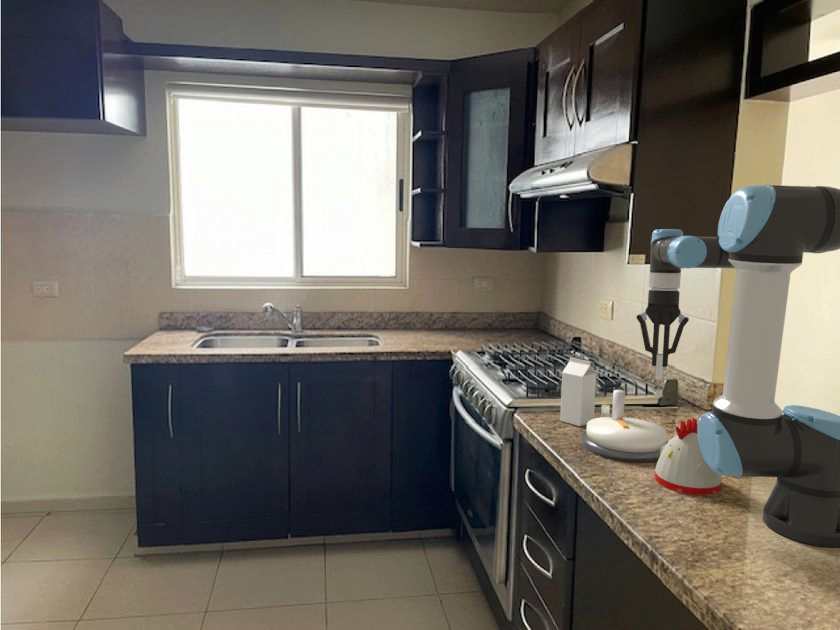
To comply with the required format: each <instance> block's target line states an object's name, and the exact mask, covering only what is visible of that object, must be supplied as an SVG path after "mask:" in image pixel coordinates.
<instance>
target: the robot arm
mask: <svg viewBox="0 0 840 630" xmlns="http://www.w3.org/2000/svg"><path fill="white" fill-rule="evenodd" d="M651 234H652V235H651V241H650V258H649V260H650V261H649V263H650V264H649V277H648V279H649V280H648V287H649V288H651V289H649V290H648V292H647V293H648V294H647V296H648V297H647V306H646V308H645V311H644V312H642V313H639V314H637V315H636V320H637V321H638V323H639V325H640V330H641V335H642V338H643V339H642V340H643V346H644V349H645V351H646V352H648V353H651V366H652V367H655V376H654V377H655V380H657V381H661V380H663V372H664V371H663V370H664V368H667V366H668V364H669V355H671V354H675V353H676V351H677V348H678V346H679V344H680V343H679V342H680V339H681V337H682V334H683V330H684V327H685V326H686V325H687V323H688V322H689V320H690V318H689V316H685V315H684V314H682V313H681V309H680V295H681V294H680V293H681V292H680V291H679V290H678V289H680V288H681V277H682V269H735V270H736V272H735V280H734V289H733V298H732V299H733V300H732V307H731V308H732V309H731V317H730V326H729V327H730V328H729V336H728V337H729V338H728V343H727V345H728V346H727V353H726V361H725V362H726V363H725V372H724V381H723V391H722V394H720V395H719V396H718V397H716V398H714V400H713V401H712V408H711V409H712V411H711V412H710V411H709V412H708V411H707V412H705V413H703V414H701V416H700V418H699V419H698V420H697V421H698V422H697V423H698V427H697V433H698V441H699V446H700V450H701V452H702V455H703V458H704V460H705V462H706V463H707V465H708V466H709V468H710V469H711V470H712V471H714V472H715V473H717V474H719V475H721V476H729V477H735V478H742V477H745V478H746V477H751V478H754V477H755V478H757V477H758V478H759V477H760V478H776V482H775V485H774V486H773V489H772V490H771V492H770V494H769V496H768V498H767V500H766V502H765V504H764V506H763V510H762V520H763V523H764V524H765V525H766V526H767V527H768V528H769V529H770V530H772V531H774V532H776V533H778V534H779V535H781V536H784V537H786V538H789V539H791V540H794V541H797V542H800V543H803V544H804V543H805V544H808V545H811V546H818V547H826V548H839V547H840V415H838V414H836V413H832V412H830V411H825V410H823V409H819V408H813V407H808V406H803V405H797V404H796V405H795V404H789V405H785V406H784V407H783V410H782V408H780V406H778V404H777V403H776V402H775V399H776V393H777V392H776V391H777V384H778V376H779V369H780V368H779V367H780V360H781V359H780V358H781V352H782V344H783V343H782V342H783V336H784V329H785V322H786V321H785V319H786V311H787V306H788V305H787V304H788V298H789V297H788V296H789V288H790V283H791V274H792V272H793V271H795V270H796V269H797V268H799V267H800V266H801V265H802V264H803V257H804V253H809V254H823V253H828V252H834V251H838V250H840V188H837V187H836V188H835V187H832V186H826V185H825V186H823V185H822V186H821V185H817V186H811V185H808V186H807V185H803V186H802V185H776V184H775V185H774V184H773V185H770V184H764V185H748V186H744V187H742V188H739V189H737V190H736V191H735V192H733V193H732V194H731V195H730V196H729V199H728V200H727V201H726V203H725V204H724V206H723V209H722V211H721V213H720V217H719V221H718V226H717V236H694V235H684V232H683V230H681V229H676V228H673V229H672V228H666V229H665V228H663V229H655V230H653V232H652V233H651ZM647 317H648V319H649V320H650V321H651V322H652V324H653V334H652V336H653V337H652V346H651V341H650V335H649V331H648V326H647V322H646V320H647ZM677 318H678V323H679V325H678V326H677V331H676V332H675V336H674V338H673V342H672V344H671V345H672V346H671V347H670V348H669V346H670V333H671V332H670V331H671V325H672V324H673V323H674V322H675V321H676V319H677ZM661 325H662V326H663V342H662V343H663V344H662V353H659V340H660V328H661Z"/></svg>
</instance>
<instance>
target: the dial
mask: <svg viewBox="0 0 840 630" xmlns="http://www.w3.org/2000/svg"><path fill="white" fill-rule="evenodd" d="M625 396H626V391H625V390H622V389H614V390H613V393H612V409H611V410H612V411H611V416H609V417H601V416H600V417H596V418H595V417H594V419H592V420H590V421H588V423H587V424H586V430H585V431H586V437H587V439H588V440H590V441H591V442H592V443H594V444H596V445H599V446H601V447H604V448H608V449H612V450H617V451H623V452H632V453H648V452H655V451H659V450H660V449H661V447H662V446H663V445H666V441H668V440H667V439H668V432H667V430H666V429H665V428H664V427H662V426H660V425H658V424H656V423H653V422H651V421H647V420H643V419H639V418H632V417H625V416H624V415H625V414H624V412H625V399H626V397H625Z"/></svg>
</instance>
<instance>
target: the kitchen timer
mask: <svg viewBox="0 0 840 630" xmlns="http://www.w3.org/2000/svg"><path fill="white" fill-rule="evenodd" d="M697 421H698V419H697V418H694V417H693V418H692V419H690V418H688V419H686V422H685V420H682V419H681V420H680V424H679V426H676V425H675V432H676V435H675V436H673V437H672V438H671V439H670V440H669V441H668V443H667V444H666V445H663V446H662V447H661V449H660V457H659V460H658V461H657V463H656V466H655V469H654V479H655V481H656V482H657V483H658V484H659V485H660V486H662V487H664V488H666V489H667V490H670V491H674V492H677V493H682V494H685V495H686V494H687V495H692V496H693V495H694V496H709V495H714V494H718V493H719V492H720V491H721V489H722V475H719V474H717V473H715V472H714V471H712V470H711V469H710V468H709V466H708V465H707V463H706V462H705V460H704V458H703V455H702V452H701V450H700V446H699V441H698V433H697V427H698V422H697Z"/></svg>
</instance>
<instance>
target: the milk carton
mask: <svg viewBox="0 0 840 630" xmlns="http://www.w3.org/2000/svg"><path fill="white" fill-rule="evenodd" d="M591 364H592V363H591V360H586V359H585V360H584V359H581V358H575V357H569V361H568V363H567V364H566V366H565V367H564V369H563V371H562V372H561V376H562V377H561V390H560V392H561V393H560V397H561V398H560V412H559V415H560V416H559V420H560V422H563V423H567V424H570V425H574V426H577V427H582V426H585V425H586V426H587V423H588V421H590V420H592V419H595V406H596V405H595V404H596V389H597V388H596V386H597V371H595V369H594V368H593V366H592V365H591Z"/></svg>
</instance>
